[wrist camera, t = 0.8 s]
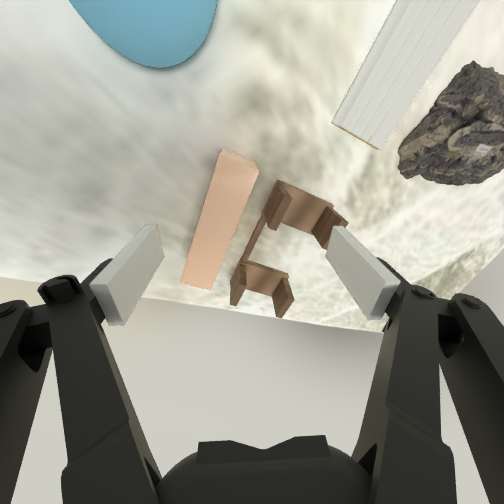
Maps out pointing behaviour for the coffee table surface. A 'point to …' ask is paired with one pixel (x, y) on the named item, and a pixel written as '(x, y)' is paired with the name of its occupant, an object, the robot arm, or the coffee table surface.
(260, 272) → the rack
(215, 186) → the peach rectangular block
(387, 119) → the baseboard
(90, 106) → the coffee table surface
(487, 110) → the dark grey rock
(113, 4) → the sugar bowl
